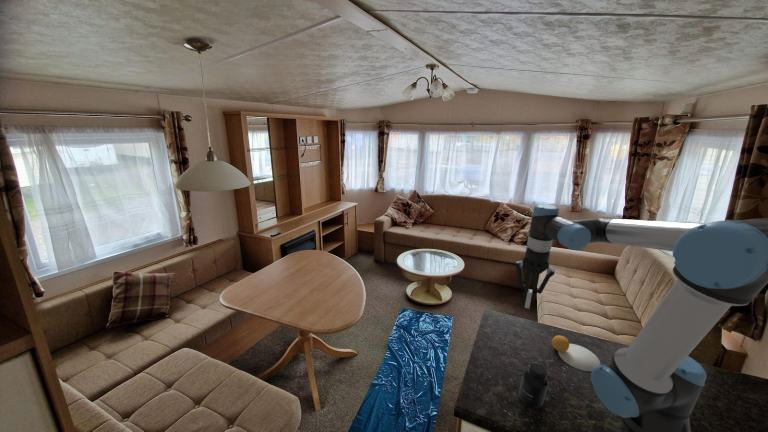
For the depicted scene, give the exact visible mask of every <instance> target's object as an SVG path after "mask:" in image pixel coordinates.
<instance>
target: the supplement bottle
mask: <svg viewBox="0 0 768 432" xmlns="http://www.w3.org/2000/svg"><path fill="white" fill-rule="evenodd" d="M547 374H548V371H547V368H546V367H545V366H544V365H543V364H541V363H539V362H536V361H533V362H530V363H529V365H528V367H527V368H526V369H525V370H524V371H523V373H522V376H521V381H520V385H519V390H518V397H519V400H520V401H521V402H522V403H523V404H524V405H525V406H526V407H529V408H530V409H540V408H541V407H543V405H544V402H545V398H546V395H547V391H548V386H549V379H548V377H547Z"/></svg>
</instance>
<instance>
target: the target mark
mask: <svg viewBox="0 0 768 432" xmlns="http://www.w3.org/2000/svg"><path fill="white" fill-rule="evenodd" d="M557 354H558V355H559V358H561V359H562V361H563V362H565V363H566V364H568V366H571V367H572V368H575V369H577V370H580V371H583V372H592V370H593V369H594V368H595V367H597V366H598V365H601V361H600V359H599V358H598V356H597V355H596V354H594V353H593V352H592V351H591V350H589V349H588V348H586V347H584V346H582V345H580V344H579V345H578V344H575V343H569V348H568V350H567V351H564V352H560V351H558V350H557Z"/></svg>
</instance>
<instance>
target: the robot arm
mask: <svg viewBox="0 0 768 432" xmlns="http://www.w3.org/2000/svg"><path fill="white" fill-rule="evenodd" d="M559 210H560V209H559V208H558V207H557V206H556V205H553V204H549V203H538V204H536V205H534V207H533V210H532V214H531V219H530V227H529V232H528V237H527V242H526V248H525V254H524V258H522V260H516V261H515V267H516V269H517V277H518V278H517V279H518V285H519V288H520V289H522V290H523V296H522V297H523V299H525V303H524V308H525V309H529V310H530V306H531V302H532V301H533V302H534V301H535V299H536V294H543V292H544V289H545V288H546V286H547V284H548V282H549V280H550V279H551V278H552V277H553V276H555V272H556V270H555V269H554V268H552V267H550V263H549V260H550V255H551V249H552V246H553V241H555V242H556V243H558V244H561V246H563V247H566V248H567V249H568V248H569V249H570V250H574V251H579V250H582V249H583V248H586V247H587V246H588V245H589V244H591V243H607V244H616V245H622V246H630V247H636V248H644V249H651V250H658V251H659V250H660V251H666V252H667V251H668V252H672V257H673V258H674V260H675V261H673V263H674V266H673V267H672V270H671V271H672V274H673V276H674V277H675V279H676V280H675V281H674V283H673V284H672V286H671V287H670V289H668V291H667V292H666V294H665V296H664V297H663V299H662V300H661V301H660V303H659V304H658V306H656V308H655V310H654V311H653V313H652V314H651V316H649V318H648V320H647V321H646V323H645V324H644V325H643V327H642V328H641V330H640V331H639V332H638V333H637V335H636V337H635V338H634V339H633V341H632V342H631V344H630V345H629V346H628V347H622V348H619V349H617V350H616V351H615V352H614V354H613V356H612V357H611V358H610V360H609V361H608V362H607V363H606V364H600V365H598V366H597V367H595V368H594V369H593V370H592V371H591V373H590V378H591V379H590V380H591V384H592V386H593V390H594V392H595V394H596V395H597V397H598V400H600V402H601V403H602V404H603V405H604V406H605V407H606V408H607V410H609V412H612V413H613V414H614V415H616V416H619V417H621V419H622V420H623V422H624V423H625V424H626V426H627V427H628V428H629V429H630V430H631V431H632V432H692V431H691V421H690V416H691V414H692V412H693V410H694V407H695V405H696V403H697V401H698V398H699V397H700V396H701V392H702V391H703V387H706V386H705V385H706V384H705V382H706V380H707V372H706V371H705V369H704V367H703V366H702V365H701V364H700V363H699V362H698V361H696V360H695V359H694V358H692V357H690V356H689V355H690V354H691V353H692V351H693V350H694V349H695V348H696V347H697V346H698V345H699V343H700V342H701V341H702V340H703V339H704V338H705V337H706V336H707V334H708V333H709V332H710V331H711V330H712V329H713V328H714V327H715V325H716V324H717V323H718V322H719V320H720V319H721V318H723V316H724V314H726V312H727V311H728V310H729V309H730V308H731V307H734V306H735V307H742V306H743V307H744V306H747V305H749V304H750V303H751V302H752V301H753V300H754V299H755V297H756V296H757V295H758V294H759V293H760V292H761V291H762V290H763V289H764V288H765V287H766V285H768V218H767V217H765V218H763V217H762V218H750V219H739V220H738V219H727V220H717V221H712V222H706V223H705V222H687V221H686V222H685V221H683V222H682V221H665V220H649V219H648V220H645V219H628V218H627V219H625V218H616V217H609V216H607V217H605V216H603V217H597V218H586V219H585V218H582V219H581V218H580V219H571V220H569V219H566V218H564V217H562V216H560V215H559ZM523 266H524V267H525V269H526V271H527V274H526V279H524V271H523ZM545 271H546V275H545V276H544V278H543V280H542V282H541V284H540V285H539V280H540V274H542V273H543V272H545ZM532 274H534V281H533V285H532V289H531V288H530V285H531V278H532ZM538 285H539V287H538Z"/></svg>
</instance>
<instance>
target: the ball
mask: <svg viewBox="0 0 768 432" xmlns="http://www.w3.org/2000/svg"><path fill="white" fill-rule="evenodd" d="M569 344H570V342H569V340H568V338H567V337H565V336H563V335H559V334H558V335H555V336H553V338H552V340H551V345H552V347H553V348H554V349H555V350H556V351H557V352H558V351H560V352H564V351H567V350H568V348H569Z"/></svg>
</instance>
